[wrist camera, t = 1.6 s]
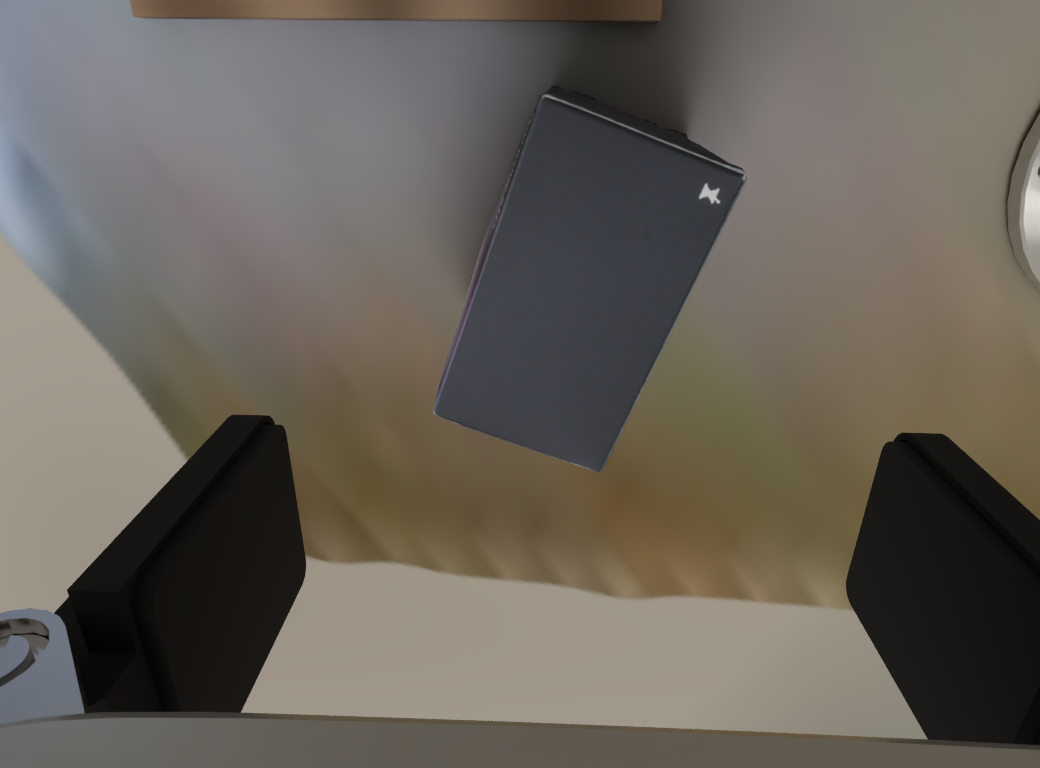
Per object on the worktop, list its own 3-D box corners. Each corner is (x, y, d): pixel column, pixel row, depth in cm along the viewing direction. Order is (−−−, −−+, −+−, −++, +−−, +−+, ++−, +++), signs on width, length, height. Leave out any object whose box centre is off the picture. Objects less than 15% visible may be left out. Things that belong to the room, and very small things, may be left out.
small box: (542, 76, 27) (534, 78, 17) (691, 136, 27) (764, 168, 18) (462, 312, 31) (421, 418, 22) (593, 359, 32) (609, 481, 22)
